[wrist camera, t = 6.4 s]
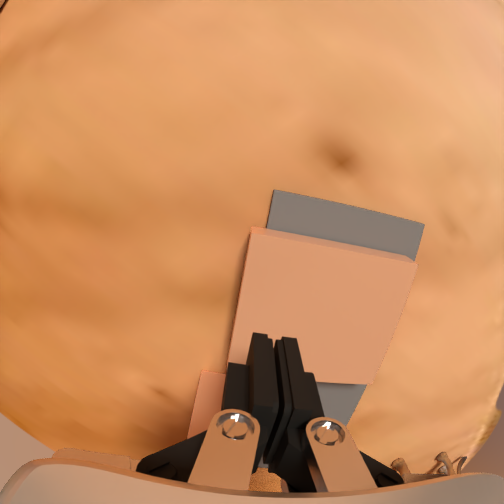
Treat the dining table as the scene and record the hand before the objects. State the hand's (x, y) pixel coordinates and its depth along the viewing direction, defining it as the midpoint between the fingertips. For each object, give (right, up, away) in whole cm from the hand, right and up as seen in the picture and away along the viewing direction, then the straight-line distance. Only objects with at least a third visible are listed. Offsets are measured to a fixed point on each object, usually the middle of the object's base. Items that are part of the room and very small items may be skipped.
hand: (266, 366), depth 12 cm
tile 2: (-1, +2, +5) cm, 5 cm away
